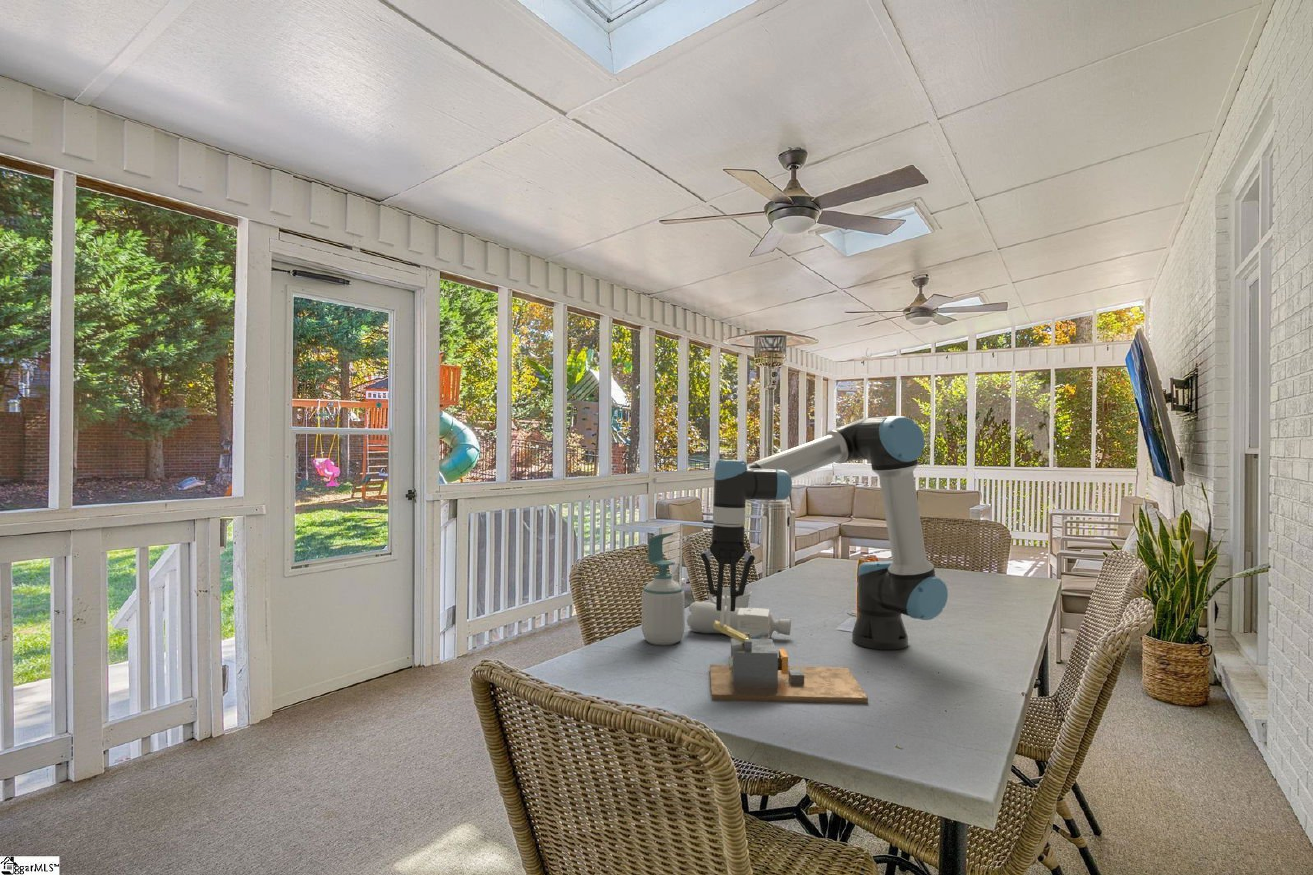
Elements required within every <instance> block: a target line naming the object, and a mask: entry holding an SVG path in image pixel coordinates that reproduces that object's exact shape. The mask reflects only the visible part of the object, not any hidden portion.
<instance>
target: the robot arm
mask: <svg viewBox="0 0 1313 875" xmlns="http://www.w3.org/2000/svg"><path fill="white" fill-rule="evenodd" d="M924 449H925V435H924V433H923V431H922V428H921V427H920V425H919V424H918V423H917V422H916V421H914V420H913V419H912V418H910V417H907V416H897V415H888V416H879V417H864V418H859V419H856V420H854V421H852V422H849V423H846V424H844V425H841V426H839V427H837V428H834V429H831V430H829V431H827V432H826V433H825V436H823V437H819V438H817V439H816V438H815V439H814V440H812V441H809V442H806V443H803V444H801V445H798V446H794V447H792V448H789V449H786V450H783V451H781V452H778V453H775V454H772V455H770V456H767V457H763V458H761V459H759V460H756V461H753V462H749V463H747V461H745V460H740V459H718V460H717V461H716V462H715V468H714V474H713V475H714V476H713V485H714V486H713V507H712V508H713V509H712V510H713V511H712V522H713V526H712V532H711V535H712V536H711V544H710V546H709V549H706V550H705V551H701V552H700V558H701V559H702V562H703V563H704V569H705V574H706V581H707V587H708V593H709V592H710V594H712V596H714V597H717V598H716V599H715V601H716V609H717V611H721V620H720V624H721V626H724V612H725V596H722V589H723V588H724V572H725V565H729V568H730V569H729V572H730V573H729V574H730V575H729V577H730V578H729V581H730V582H729V584H730V585H729V587H730V596H727V613H726V626H730V611H733V612H734V611H735V602H736V597H738V596H742V595H743V594H744V590H745V589H746V587H747V586H746V585H747V581H748V578H749V573H750V569H751V566H752V564H753V563H754V561H755V560H756V556H755V555H754V554H752V553H750V552H749V551H747V550H746V549H747V548H746V546H745V526H744V524H746V521H745V520H746V501H750V500H754V501H775V502H776V501H782V500H786V499H788V497H790V495H791V493H792V488H793V485H792V484H793V482H792V479H793V478H797V477H799V476H801V475H804V474H807V473H809V472H812V471H814V470H818V469H820V468H822V467H825V466H828V465H830V464H833V463H837V464H844V463H846V462H850V461H856V460H857V461H859V460H861V461H863V460H864V461H865V460H866V461H870V464H871V471H872V472H874V473H875V474H876V475H878V477H879V482H880V484H879V485H880V490H881V497H882V502H883V509H884V510H883V511H884V516H885V520H886V521H885V522H886V527H887V528H886V529H887V535H888V540H889V548H890V553H891V559H892V560H879V561H878V560H876V561H865V562H862V563H861V562H860V564H859V565H858V573H857V587H858V588H857V591H858V592H857V593H858V594H857V596H858V600H857V601H858V614H857V618H856V620H855V623H854V626H853V629H852V632H851V633H852V635H851V639H852V642H853V643H854V644H856V645H857V646H861V647H864V648H869V649H875V650H880V651H881V650H884V651H892V650H893V651H894V650H902V649H905V648H906V647H907V648H908V646H909V637H908V636H909V635H908V633H907V630H906V627H905V625H904V622H903V619H902V618H903V617H902V615H904V616H908V617H909V618H911V619H914V620H915V619H917V620H921V621H929V620H934V619H935V618H937V617H938V616H939V615H940V614H942V612H943V609H944V608H945V607H946V605H947V601H948V598H949V597H948V595H949V594H948V588H947V584H946V583H945V582H944V581H943V580H942V579H941V578H940V577H938V576H936V572H935V565H934V564H933V563H932V562H931V561H929V560H928V559H927V553H926V547H925V541H924V534H923V527H922V522H921V514H920V508H919V502H918V501H919V500H918V496H917V489H916V483H915V475H914V471H915V469H916V468H917V467H918V465H919V461H918V459H919V458H920V457H921V455H922V454H923V450H924ZM711 555H712V556H713V557H714V559H715V560H716V562H717V563H718V568H717V569H718V570H717V583H716V588H715V587H714V580H713V575H712V569H711V568H712V567H711V563H710V560H711V558H712V557H711ZM743 556H744V558H743ZM742 558H743V560H744V565H743V568H742V573H741V576H740V580H739V585H738V590H736V587H737V564H738V563H739V562H740V561H741V559H742Z"/></svg>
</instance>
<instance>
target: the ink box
mask: <svg viewBox="0 0 1313 875" xmlns="http://www.w3.org/2000/svg"><path fill="white" fill-rule="evenodd" d="M769 613H770V608H761V607H759V608H758V607H748V608H740V609H739V611H738V613H737V631H739V632H741V633H742V632H749V639H770V615H769Z"/></svg>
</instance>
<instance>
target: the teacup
mask: <svg viewBox="0 0 1313 875" xmlns="http://www.w3.org/2000/svg"><path fill="white" fill-rule="evenodd" d="M738 588H739V586H738V587H737V586H736V590H738ZM752 592H753V591H751V590H750V589H748V588H745V590H744V594H743V595H742V596H738V597H736V602H735V607H736V608H749V605H750V604H749V601H750V597H751V595H752ZM707 596H708V599H709V601H710V603H713V604H716V599H717V597H716V596H715V597H716V599H714V598H713V594H710V592H709V591H708V595H707ZM722 596H725V606H727V596H730V586H723V589H722Z"/></svg>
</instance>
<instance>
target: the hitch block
mask: <svg viewBox="0 0 1313 875" xmlns="http://www.w3.org/2000/svg"><path fill="white" fill-rule="evenodd" d="M742 634H744V635H748V637H749V632H742ZM730 657H733V670H729V664H726V665H725V664H709V675H710V689H711V690H710V691H711V701H735V702H736V701H739V702H740V701H743V702H744V701H748V702H783V703H785V702H786V703H787V702H791V703H792V702H793V703H797V702H798V703H835V704H837V703H838V704H868V703H869V697H868V696H867V695H866V692H865V691H864V689H862V687H861V686H860V684H859V682H858V681H857V680H856V678H855V677H854V675H853V674H852V672H851V671H850V669H849V668H848V667H845V666H844V667H840V666H838V667H837V666H834V667H833V666H797V665H796V666H795V665H793V666H791V665H790V666H789V665H788V674H782V673H781V671H778V658H779V652H778V651H777V649H776V645H775V644H774V641H773V638H769V639H749V640H744V643H742V642H740V641H738V640H736V639H734V638H732V637H731V638H730Z"/></svg>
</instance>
